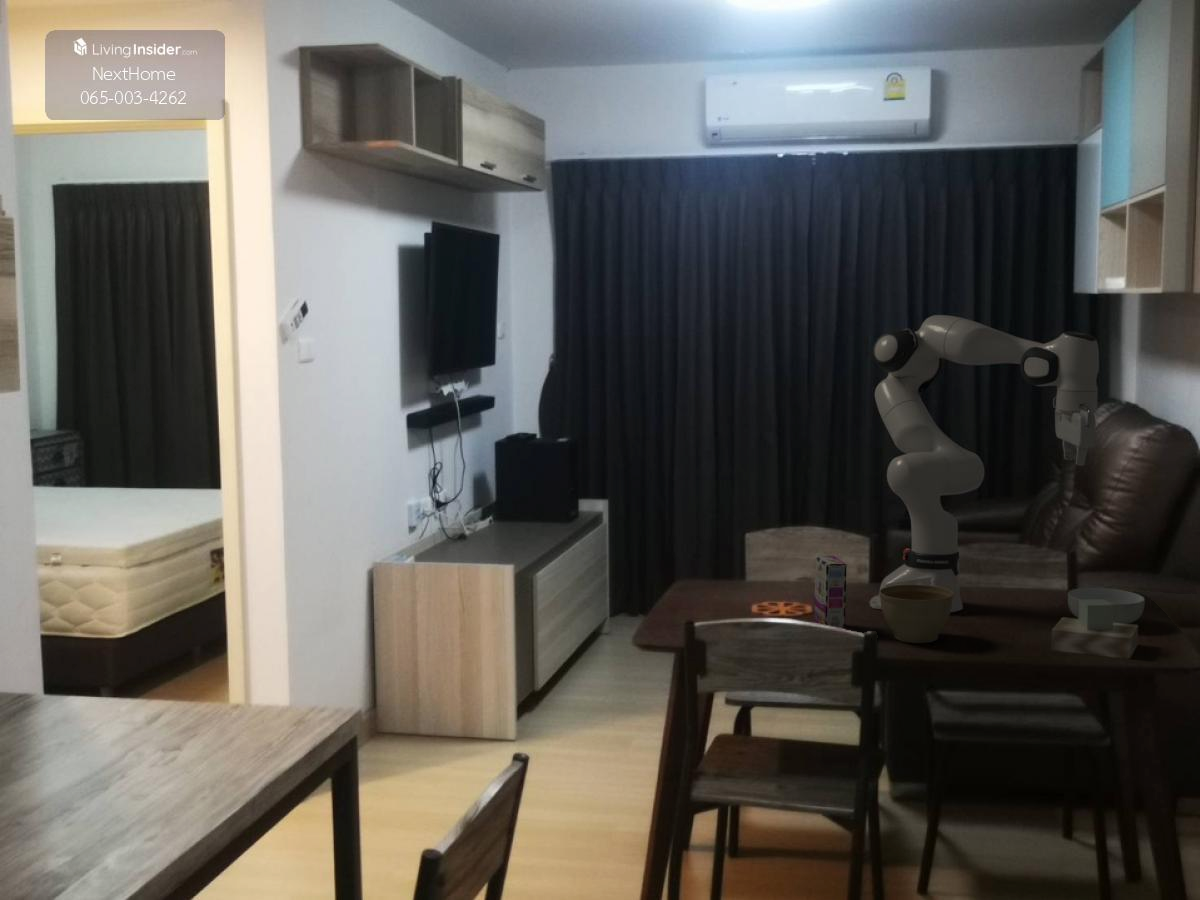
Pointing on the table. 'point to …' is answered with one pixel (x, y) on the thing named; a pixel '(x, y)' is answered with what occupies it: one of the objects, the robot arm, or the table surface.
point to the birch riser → (1094, 639)
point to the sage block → (1096, 614)
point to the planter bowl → (916, 611)
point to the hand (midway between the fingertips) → (1074, 462)
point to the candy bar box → (830, 591)
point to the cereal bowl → (1124, 602)
